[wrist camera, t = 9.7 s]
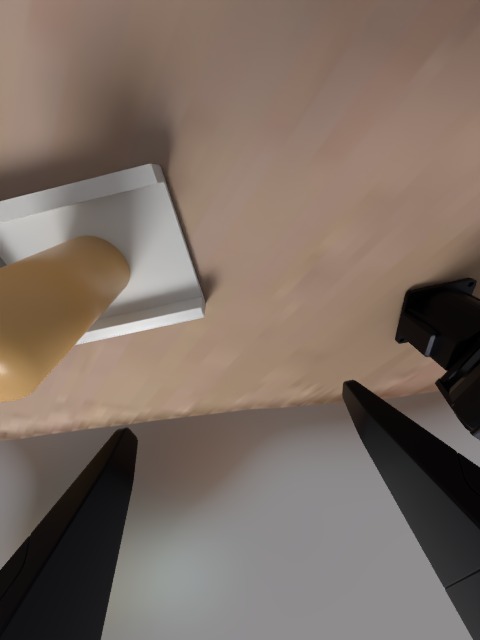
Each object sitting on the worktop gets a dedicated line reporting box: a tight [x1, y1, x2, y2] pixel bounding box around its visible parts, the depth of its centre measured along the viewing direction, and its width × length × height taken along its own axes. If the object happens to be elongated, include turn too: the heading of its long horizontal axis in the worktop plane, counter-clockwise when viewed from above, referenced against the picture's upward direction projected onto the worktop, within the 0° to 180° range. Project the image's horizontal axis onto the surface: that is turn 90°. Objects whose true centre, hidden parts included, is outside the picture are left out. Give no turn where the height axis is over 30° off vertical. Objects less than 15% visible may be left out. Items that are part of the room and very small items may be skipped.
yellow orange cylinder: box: [0, 236, 130, 402], centre depth 13 cm, size 5×5×11 cm
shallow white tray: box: [0, 163, 206, 345], centre depth 18 cm, size 15×11×2 cm
